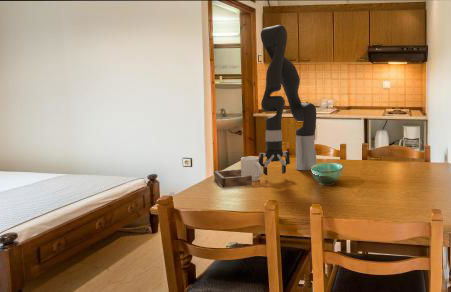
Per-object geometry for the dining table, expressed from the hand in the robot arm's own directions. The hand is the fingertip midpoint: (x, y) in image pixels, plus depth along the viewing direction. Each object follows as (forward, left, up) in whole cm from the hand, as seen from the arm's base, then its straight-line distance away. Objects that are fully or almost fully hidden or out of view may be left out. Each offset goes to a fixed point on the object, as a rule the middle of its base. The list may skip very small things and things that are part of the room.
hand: (274, 174), depth 234 cm
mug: (+10, 0, -2) cm, 11 cm away
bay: (+20, 0, -2) cm, 20 cm away
